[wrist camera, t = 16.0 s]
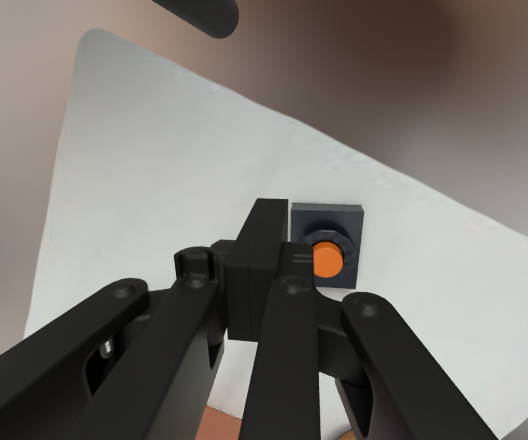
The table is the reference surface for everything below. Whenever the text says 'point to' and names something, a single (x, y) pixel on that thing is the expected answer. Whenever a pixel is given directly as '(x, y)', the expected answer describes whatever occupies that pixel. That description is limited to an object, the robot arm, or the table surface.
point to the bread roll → (348, 436)
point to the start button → (327, 259)
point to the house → (218, 426)
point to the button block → (331, 236)
